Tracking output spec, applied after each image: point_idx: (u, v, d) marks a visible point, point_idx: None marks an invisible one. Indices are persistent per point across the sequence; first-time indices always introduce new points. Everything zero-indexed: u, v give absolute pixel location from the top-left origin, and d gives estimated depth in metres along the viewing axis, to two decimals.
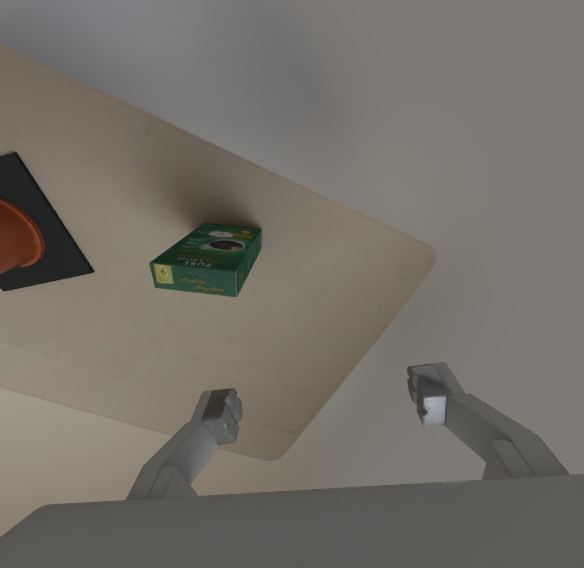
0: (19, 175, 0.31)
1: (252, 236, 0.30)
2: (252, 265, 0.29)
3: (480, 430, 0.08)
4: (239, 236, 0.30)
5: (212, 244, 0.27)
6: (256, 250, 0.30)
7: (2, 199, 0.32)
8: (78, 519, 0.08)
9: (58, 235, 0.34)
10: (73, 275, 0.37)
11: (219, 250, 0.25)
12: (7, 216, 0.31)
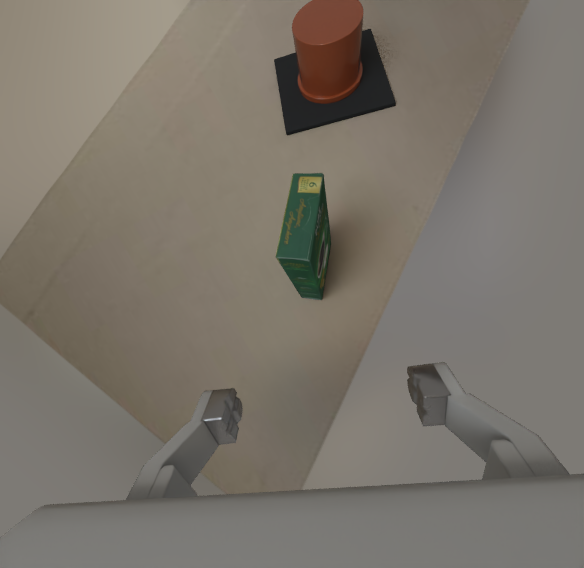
0: (377, 101, 0.36)
1: (320, 288, 0.28)
2: (293, 283, 0.25)
3: (480, 430, 0.08)
4: (322, 274, 0.27)
5: (323, 243, 0.25)
6: (306, 290, 0.27)
7: (358, 83, 0.37)
8: (78, 519, 0.08)
9: (324, 115, 0.38)
10: (284, 117, 0.39)
11: (320, 249, 0.23)
12: (346, 81, 0.36)
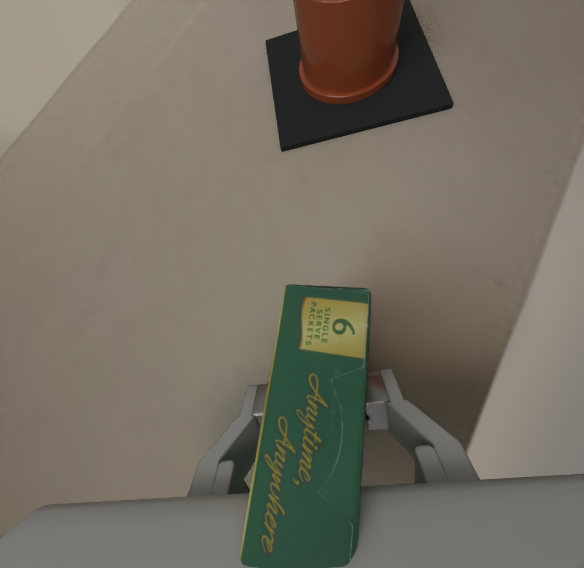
0: (423, 101, 0.23)
1: None
2: None
3: (413, 436, 0.09)
4: None
5: None
6: None
7: (392, 73, 0.24)
8: (78, 519, 0.08)
9: (339, 122, 0.24)
10: (279, 123, 0.26)
11: None
12: (375, 69, 0.23)
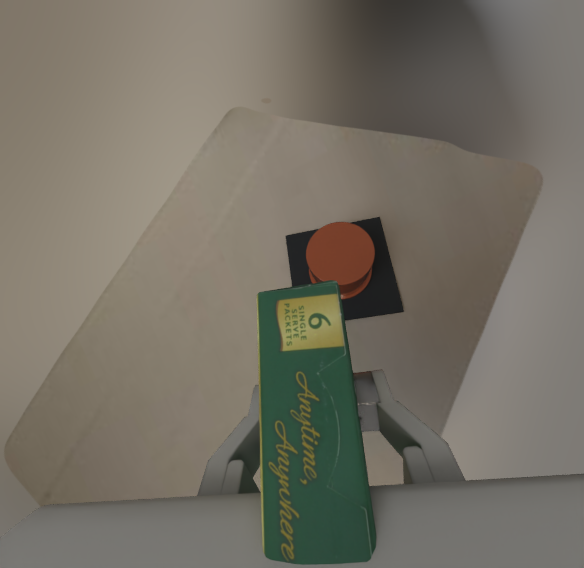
0: (386, 307, 0.38)
1: None
2: None
3: (402, 437, 0.09)
4: None
5: None
6: None
7: (367, 284, 0.39)
8: (78, 519, 0.08)
9: None
10: None
11: None
12: (356, 289, 0.37)
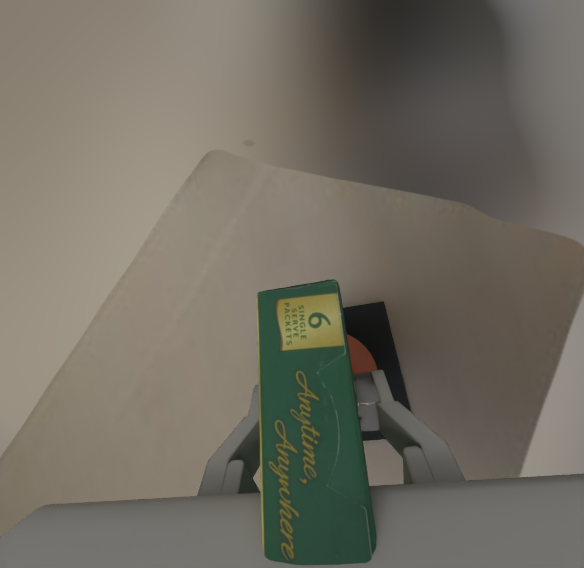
0: None
1: None
2: None
3: (402, 437, 0.09)
4: None
5: None
6: None
7: None
8: (78, 519, 0.08)
9: None
10: None
11: None
12: None
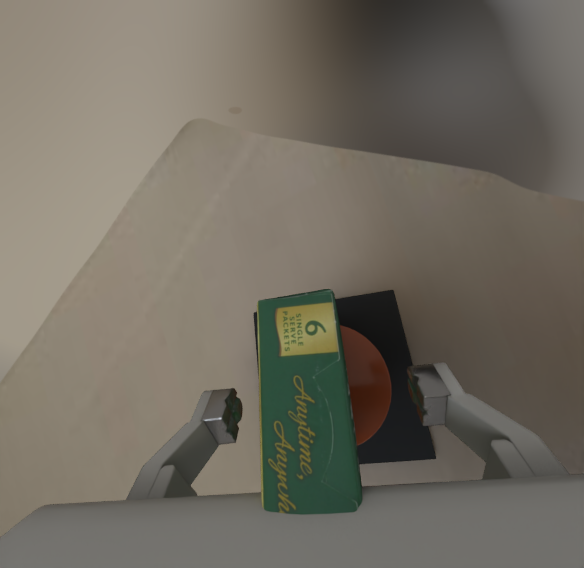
0: (407, 448, 0.23)
1: None
2: None
3: (480, 430, 0.08)
4: None
5: None
6: None
7: None
8: (78, 519, 0.08)
9: None
10: None
11: None
12: None
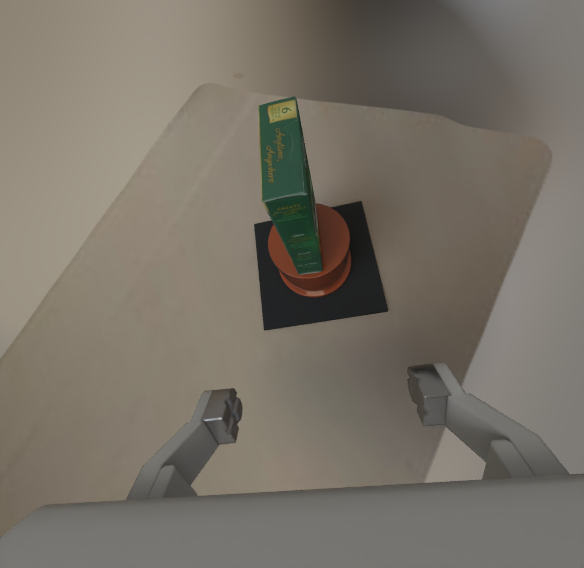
0: (367, 305, 0.32)
1: None
2: (288, 250, 0.21)
3: (480, 430, 0.08)
4: (318, 236, 0.23)
5: (312, 193, 0.20)
6: (303, 259, 0.23)
7: None
8: (78, 519, 0.08)
9: (307, 313, 0.33)
10: (263, 307, 0.34)
11: (311, 196, 0.19)
12: (331, 285, 0.31)
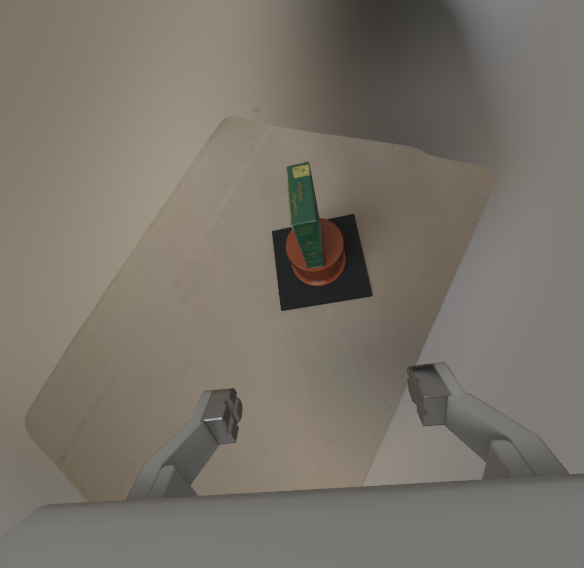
0: (357, 292, 0.44)
1: None
2: (303, 251, 0.32)
3: (480, 430, 0.08)
4: (321, 242, 0.35)
5: None
6: (312, 257, 0.34)
7: (341, 272, 0.45)
8: (78, 519, 0.08)
9: (313, 298, 0.45)
10: (280, 293, 0.46)
11: None
12: (331, 277, 0.43)
